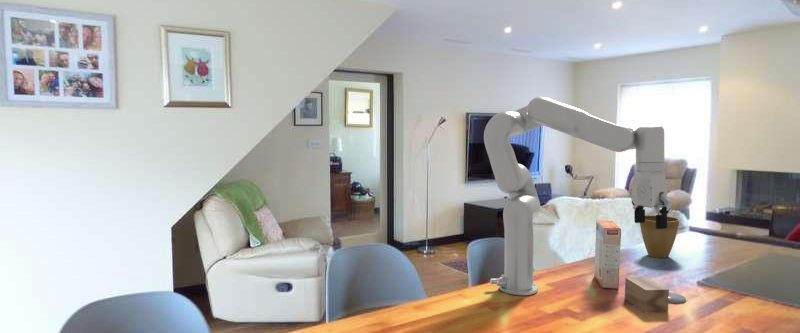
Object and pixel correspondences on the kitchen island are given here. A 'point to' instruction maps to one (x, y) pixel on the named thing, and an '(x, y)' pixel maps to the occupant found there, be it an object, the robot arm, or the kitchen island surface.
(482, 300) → the kitchen island surface
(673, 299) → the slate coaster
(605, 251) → the cracker box
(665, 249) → the plant pot
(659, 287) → the brown block
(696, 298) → the kitchen island surface
